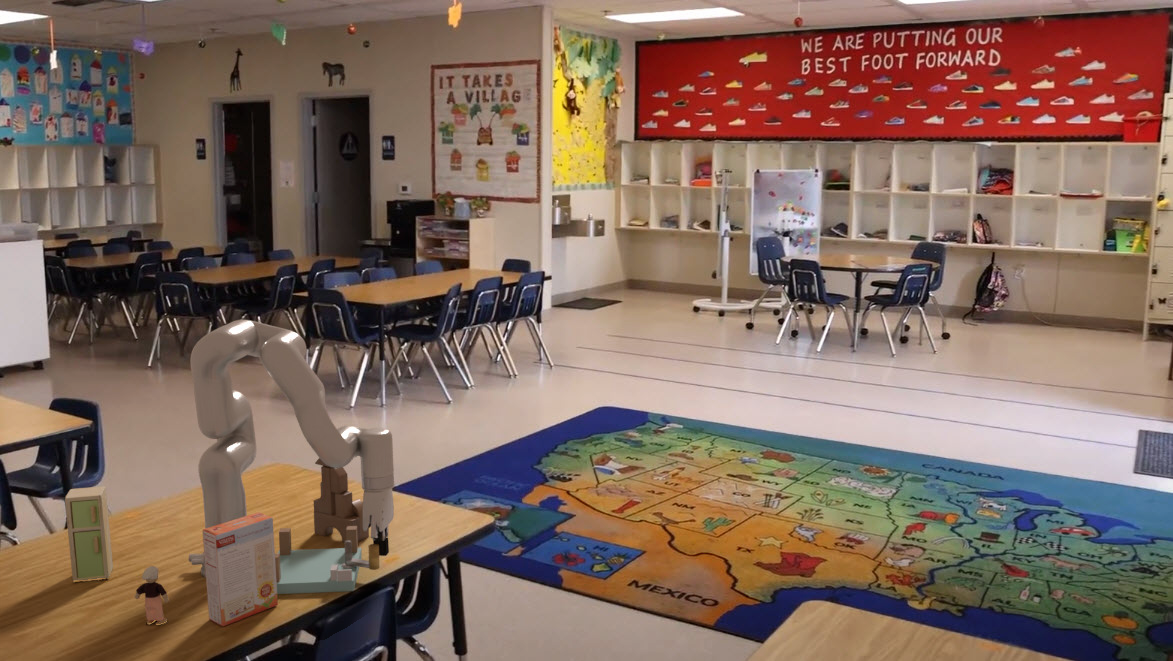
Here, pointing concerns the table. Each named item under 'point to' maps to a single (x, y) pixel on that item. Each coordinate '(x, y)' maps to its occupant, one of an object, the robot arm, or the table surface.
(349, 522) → the wooden toy
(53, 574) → the table surface
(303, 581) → the mint green baseplate
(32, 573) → the table surface
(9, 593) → the table surface
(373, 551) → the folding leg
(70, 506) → the toy refrigerator
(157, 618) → the grandmother figurine
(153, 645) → the table surface
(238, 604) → the cracker box
